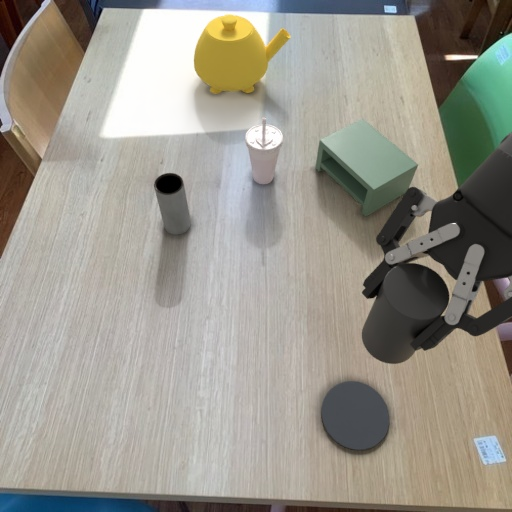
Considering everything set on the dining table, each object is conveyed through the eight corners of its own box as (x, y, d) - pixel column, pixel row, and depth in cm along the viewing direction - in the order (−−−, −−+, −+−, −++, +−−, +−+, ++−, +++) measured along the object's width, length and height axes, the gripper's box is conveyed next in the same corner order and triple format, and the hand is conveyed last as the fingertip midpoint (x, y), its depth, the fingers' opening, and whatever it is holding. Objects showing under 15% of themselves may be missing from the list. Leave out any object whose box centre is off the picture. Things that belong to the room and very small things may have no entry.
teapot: (285, 56, 108) (288, -5, 97) (290, 101, 99) (295, 39, 88) (196, 58, 107) (190, -3, 96) (194, 103, 99) (187, 42, 87)
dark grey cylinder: (426, 335, 49) (461, 287, 41) (398, 375, 47) (429, 332, 39) (380, 304, 51) (404, 252, 43) (350, 340, 49) (370, 293, 41)
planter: (173, 239, 80) (163, 199, 71) (159, 222, 82) (148, 180, 73) (196, 226, 81) (189, 185, 72) (182, 210, 83) (173, 168, 74)
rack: (407, 192, 86) (418, 164, 80) (365, 216, 82) (374, 189, 77) (355, 146, 92) (362, 118, 86) (315, 168, 89) (319, 139, 83)
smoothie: (243, 187, 86) (241, 127, 74) (248, 162, 89) (247, 101, 78) (278, 191, 85) (282, 131, 74) (282, 165, 89) (286, 104, 77)
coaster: (401, 411, 64) (402, 410, 64) (364, 465, 60) (365, 465, 60) (346, 369, 67) (346, 368, 67) (307, 418, 63) (307, 417, 63)
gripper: (620, 241, 37) (459, 377, 43) (476, 135, 44) (355, 267, 50) (625, 231, 31) (436, 392, 37) (457, 110, 37) (321, 263, 44)
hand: (390, 319), depth 43 cm, fingers closed on dark grey cylinder, 5 cm apart
